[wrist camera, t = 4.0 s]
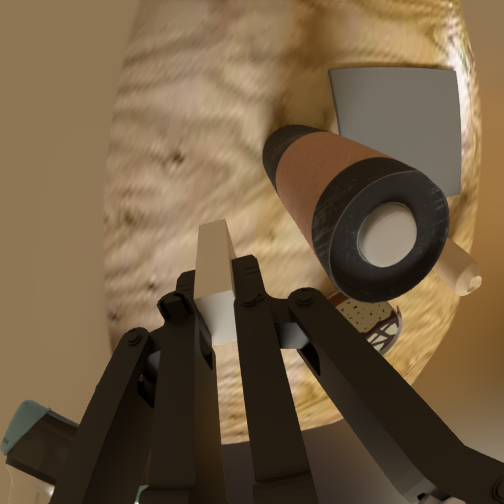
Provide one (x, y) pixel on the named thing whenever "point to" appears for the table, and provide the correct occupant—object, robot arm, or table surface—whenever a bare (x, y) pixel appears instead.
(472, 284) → the candle
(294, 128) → the travel mug
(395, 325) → the food container
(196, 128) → the table surface
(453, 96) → the mat
